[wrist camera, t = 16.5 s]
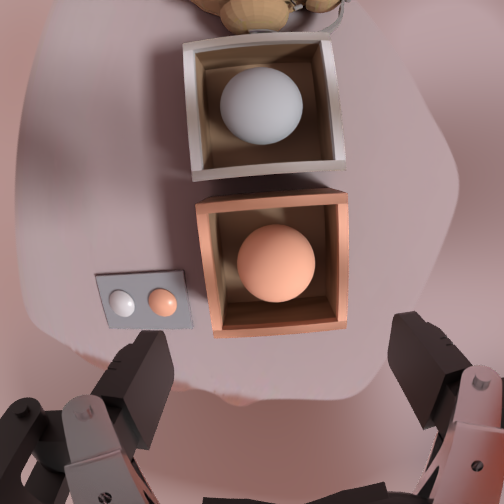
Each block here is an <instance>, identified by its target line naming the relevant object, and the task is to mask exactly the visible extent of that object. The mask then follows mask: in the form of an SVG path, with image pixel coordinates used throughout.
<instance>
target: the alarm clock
mask: <svg viewBox="0 0 504 504" xmlns="http://www.w3.org/2000/svg"><path fill="white" fill-rule="evenodd" d="M344 1H345V2H350V1H351V0H191V2H193V3H194V4H196V5H197V6H198V7H200V8H201V9H202V10H203V11H206V12H209V13H211V14H214V15H217V16H220V17H221V21H222V23H223V24H224V26H225V27H226V28H227V30H229V31H230V32H232V33H233V34H235V35H245V34H258V33H275V32H278V31H279V30H280V29H281V28H283V27H284V26H285V24H286V22H287V20H288V17H289V13H291V12H293V11H296V10H299V9H301V8H303V6H304V5H305V4H306V9H307V10H309V11H311V12H315V13H324V12H328V11H331V10H333V9H334V8H336V7H337V6H338V5H339V4H340V3H341V5H340V8H339V16H338V19H337V20H336V21H335V22H334V23H333V24H332V25H330V26H329V27H327V28H325V29H323V30H322V31H318V32H327V33H330V34H332V33H333V32H334V31H335V30H336V29H337V28H338V26H339V24H340V22H341V20H342V17H343V13H344Z"/></svg>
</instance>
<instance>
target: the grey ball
mask: <svg viewBox="0 0 504 504" xmlns="http://www.w3.org/2000/svg"><path fill="white" fill-rule="evenodd" d="M302 109H303V103H302V97H301V94H300V91H299V89H298V87H297V86H296V84H295V83H294V82H293V81H292V80H291V78H289V77H288V76H287V75H285V74H284V73H282V72H280V71H278V70H275V69H272V68H268V67H255V68H250V69H247V70H244V71H242V72H240V73H238V74H237V75H236V76H234V77H233V78H232V79H231V80H230V81H229V82H228V84H227V85H226V87H225V88H224V90H223V93H222V96H221V101H220V111H221V115H222V119H223V121H224V123H225V125H226V126H227V128H228V129H229V130H230V131H231V133H233V134H234V135H235V136H236V137H238V138H239V139H241V140H243V141H245V142H248V143H252V144H258V145H266V144H272V143H276V142H278V141H280V140H282V139H284V138H286V137H287V136H288V135H290V134H291V133H292V132H293V131H294V129H295V128H296V127H297V125H298V123H299V121H300V119H301V115H302Z"/></svg>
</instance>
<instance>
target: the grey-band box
mask: <svg viewBox="0 0 504 504" xmlns="http://www.w3.org/2000/svg"><path fill="white" fill-rule="evenodd" d="M183 65H184V83H185V99H186V114H187V127H188V139H189V150H190V161H191V171H192V181H193V182H196V181H204V180H213V179H223V178H233V177H243V176H255V175H267V174H282V173H298V172H318V171H346V158H345V145H344V134H343V123H342V114H341V105H340V97H339V89H338V82H337V75H336V68H335V62H334V56H333V50H332V44H331V39H330V33H327V32H275V33H258V34H245V35H235V36H227V37H219V38H212V39H205V40H199V41H193V42H188V43H183ZM255 67H268V68H272V69H275V70H278V71H280V72H282V73H284V74H285V75H287V76H288V77H289V78H291V80H292V81H293V82H294V83H295V84H296V86H297V87H298V89H299V91H300V94H301V97H302V103H303V109H302V115H301V119H300V121H299V123H298V125H297V127H296V128H295V129H294V131H293V132H292V133H291V134H290V135H288V136H287V137H286V138H284V139H282V140H280V141H278V142H276V143H272V144H266V145H258V144H252V143H248V142H245V141H243V140H241V139H239V138H238V137H236V136H235V135H234V134H233V133H231V131H230V130H229V129H228V128H227V126H226V125H225V123H224V121H223V119H222V115H221V111H220V101H221V96H222V93H223V90H224V88H225V87H226V85H227V84H228V82H229V81H230V80H231V79H232V78H233V77H234V76H236V75H237V74H238V73H240V72H242V71H244V70H247V69H250V68H255Z"/></svg>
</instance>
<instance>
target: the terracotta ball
mask: <svg viewBox="0 0 504 504" xmlns="http://www.w3.org/2000/svg"><path fill="white" fill-rule="evenodd" d="M237 269H238V274H239V277H240V279H241V281H242V283H243V285H244V286H245V288H246V289H247V290H248V291H249V292H250V293H251V294H253V295H254V296H256V297H257V298H259V299H261V300H264V301H268V302H284V301H288V300H290V299H293V298H295V297H297V296H298V295H299V294H301V293H302V292H303V291H304V290H305V289H306V288H307V286H308V285H309V283H310V282H311V279H312V277H313V274H314V270H315V257H314V252H313V250H312V247H311V245H310V243H309V242H308V240H307V239H306V238H305V237H304V236H303V235H302V234H301V233H300V232H299V231H297V230H296V229H294V228H292V227H289V226H286V225H280V224H272V225H267V226H263V227H261V228H258V229H257V230H255V231H254V232H252V233H251V234H250V235H249V236H248V237H247V238H246V239H245V241H244V242H243V244H242V246H241V247H240V250H239V253H238V258H237Z"/></svg>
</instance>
